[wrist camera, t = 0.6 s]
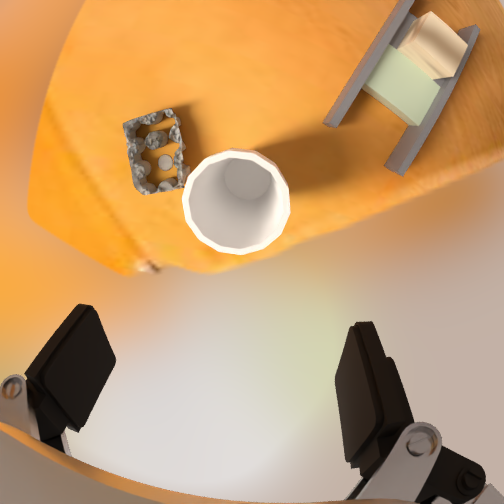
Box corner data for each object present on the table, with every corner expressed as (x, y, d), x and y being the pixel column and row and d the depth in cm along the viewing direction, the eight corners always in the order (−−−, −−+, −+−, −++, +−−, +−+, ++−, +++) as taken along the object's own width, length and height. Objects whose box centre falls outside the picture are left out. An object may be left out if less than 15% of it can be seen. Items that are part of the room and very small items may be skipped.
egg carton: (195, 184, 37) (186, 191, 33) (145, 191, 38) (133, 199, 34) (183, 107, 32) (172, 106, 29) (132, 119, 33) (118, 120, 29)
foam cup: (297, 190, 36) (309, 225, 24) (237, 223, 39) (221, 270, 27) (259, 127, 33) (252, 129, 21) (198, 164, 35) (162, 187, 24)
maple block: (413, 21, 21) (430, 11, 17) (447, 50, 22) (468, 45, 18) (396, 49, 24) (414, 41, 19) (432, 79, 25) (453, 76, 20)
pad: (378, 47, 26) (386, 42, 23) (429, 88, 27) (440, 87, 25) (355, 84, 29) (362, 81, 26) (408, 125, 30) (418, 126, 28)
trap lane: (407, -14, 20) (420, -24, 16) (464, 34, 22) (480, 29, 18) (322, 122, 32) (329, 123, 28) (389, 169, 33) (402, 176, 29)
